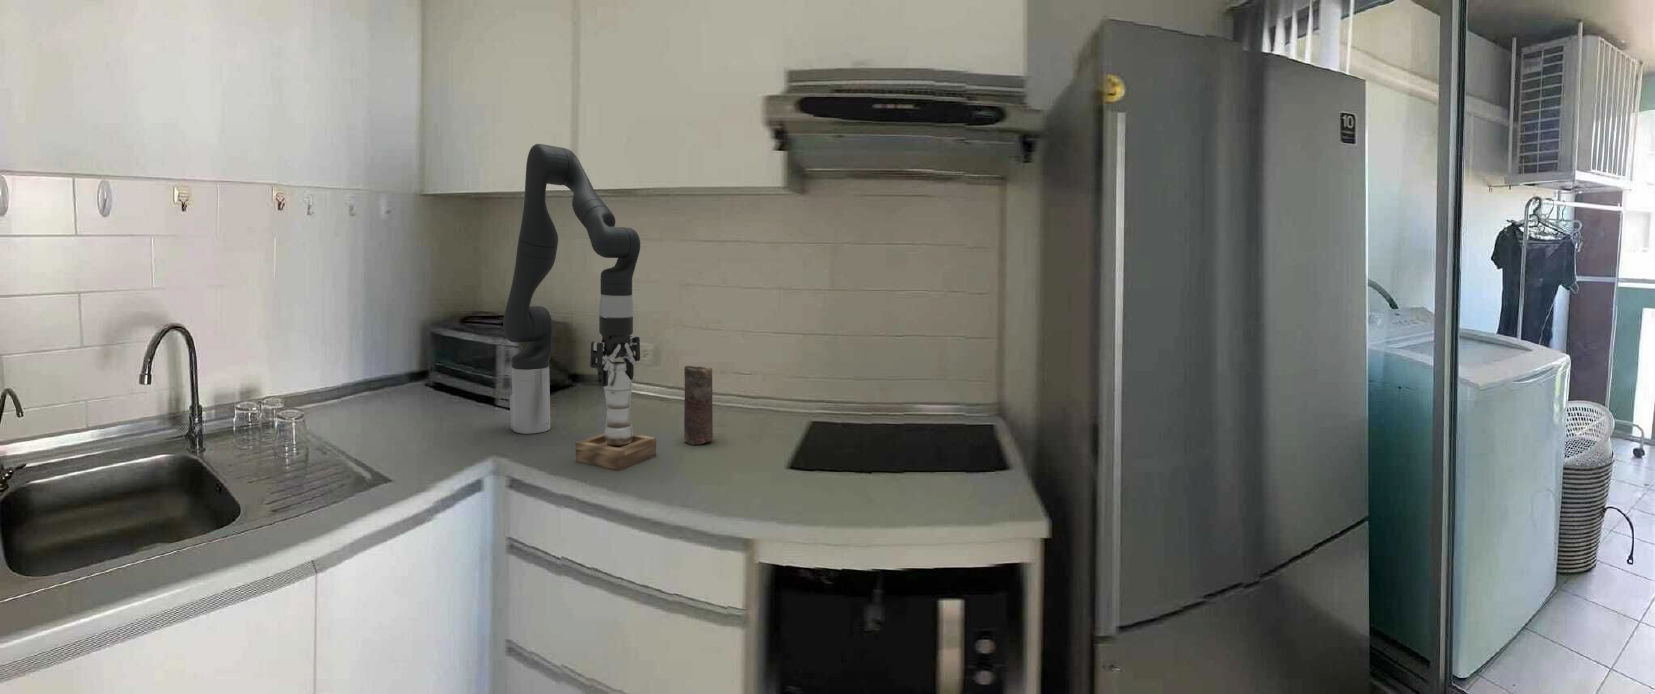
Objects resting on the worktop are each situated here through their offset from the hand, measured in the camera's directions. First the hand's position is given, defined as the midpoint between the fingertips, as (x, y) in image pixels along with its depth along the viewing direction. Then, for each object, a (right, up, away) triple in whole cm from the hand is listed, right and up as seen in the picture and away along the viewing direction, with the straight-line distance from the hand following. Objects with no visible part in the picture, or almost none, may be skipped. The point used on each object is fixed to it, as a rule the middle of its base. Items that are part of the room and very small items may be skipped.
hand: (616, 382), depth 164 cm
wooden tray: (-1, -18, +3) cm, 18 cm away
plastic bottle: (0, -15, +3) cm, 16 cm away
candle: (+16, -17, +19) cm, 30 cm away
